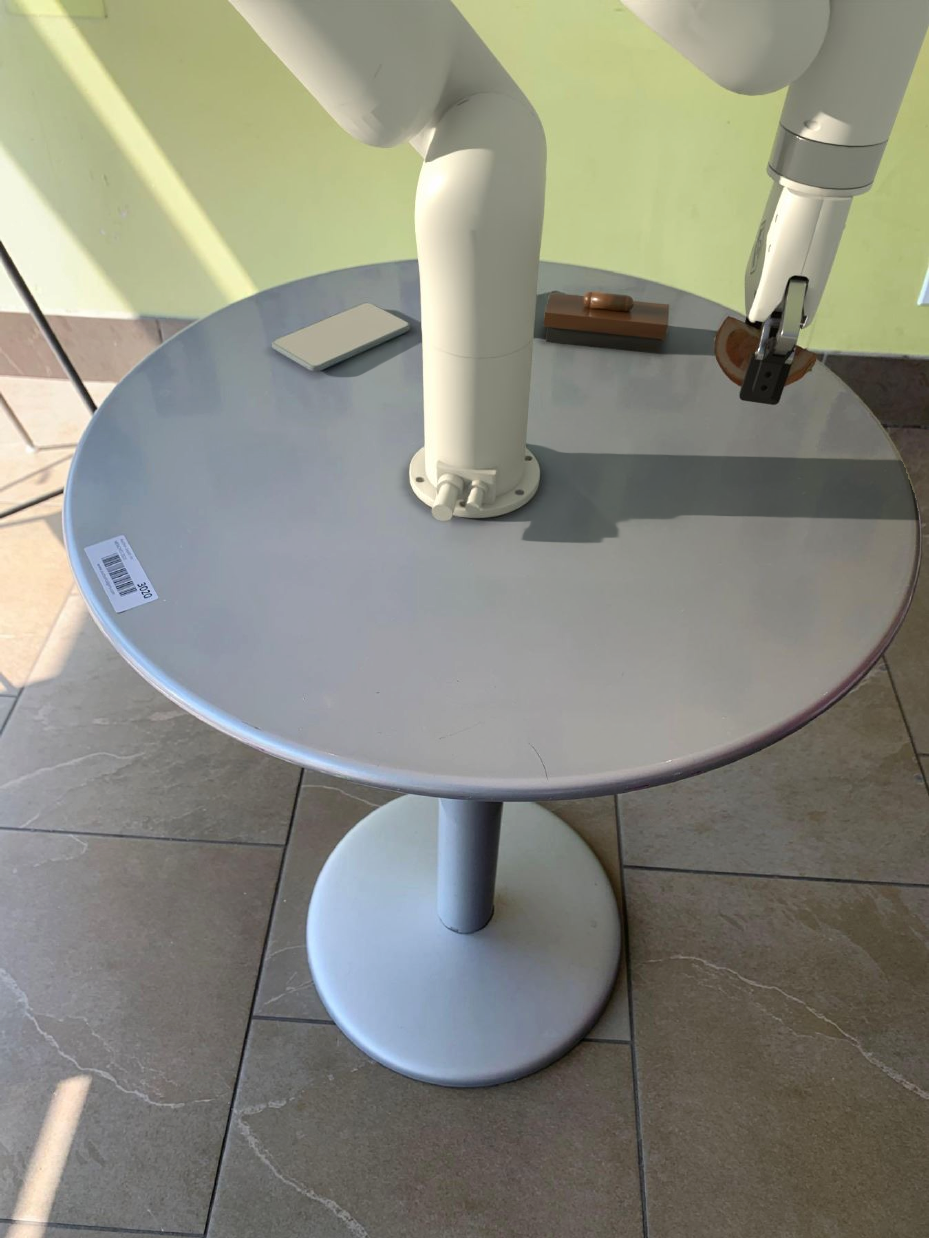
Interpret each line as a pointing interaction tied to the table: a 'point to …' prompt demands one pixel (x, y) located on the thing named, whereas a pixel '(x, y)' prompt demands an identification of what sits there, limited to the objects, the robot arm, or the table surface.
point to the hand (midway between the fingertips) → (757, 374)
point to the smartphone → (340, 336)
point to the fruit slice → (742, 341)
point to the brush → (606, 321)
